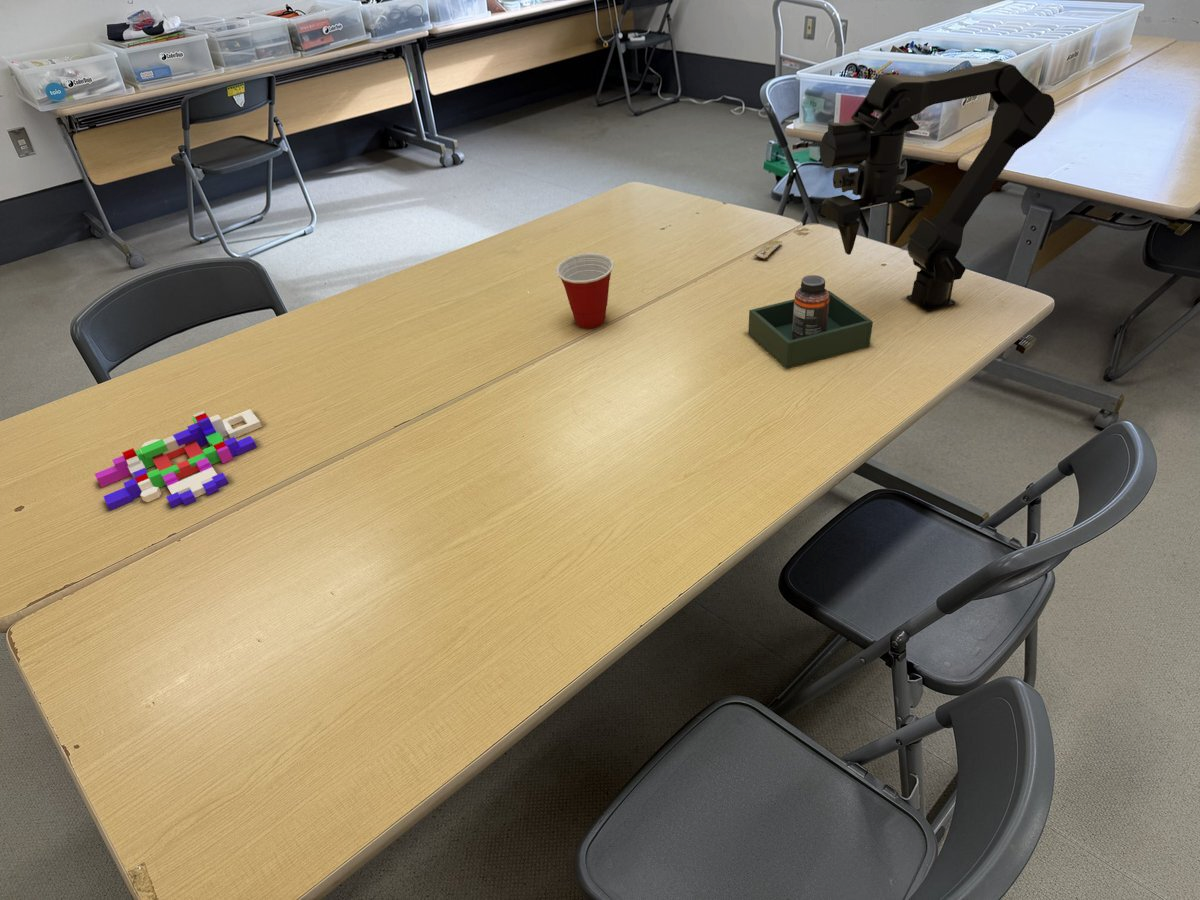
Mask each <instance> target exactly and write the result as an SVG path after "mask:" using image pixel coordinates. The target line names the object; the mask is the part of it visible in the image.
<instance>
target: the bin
mask: <svg viewBox="0 0 1200 900" xmlns="http://www.w3.org/2000/svg"><path fill="white" fill-rule="evenodd" d="M827 291H828V292H829V295H830V299H829V310H828V320H827V330H826V331H825V332H821V333H817V334H813V335H809V336H806V337H802V338H798V339H793V337H792V328H793V313H794V300H795V298H793V299H789V300H786V301H785V300H784V301H781V302H780V301H779V302H776V303H773V304H769V305H765V306H761V307H760V306H759V307H756V308H752V309H749V310H748V329H747V330H748V332H747V335H748V336H749V337H750V338H752V340H754V341H755V343H757V344H758V345H759V346H760V347H761V348H763V349H764V350H765V351H766V352H767V353H768V354H769V355H770V356H772V357H773V358H774V360H776V361H777V362H778V363H779V364H780V365H781V366H783V367H784V368H785V369H790V368H791V369H792V368H794V367H798V366H802V365H806V364H811V363H814V362H818V361H821V360H825V359H829V358H832V357H836V356H840V355H844V354H847V353H851V352H856V351H859V350H862V349H865V348H870V346H871V345H870V344H871V339H872V333H873V332H872V331H873V325H874V320H872V319H870V318H869V317H867V315H865V314H863V313H862V312H860V311H859V310H857V308H855V307H854V306H852V305H850V304H849V303H848V302H846V301H845V300H843V299H842V298H840V297H839V296H838V295H836V294H835V293H833V292H832V291H830V290H827Z"/></svg>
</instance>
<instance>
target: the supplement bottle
mask: <svg viewBox="0 0 1200 900" xmlns="http://www.w3.org/2000/svg"><path fill="white" fill-rule="evenodd" d="M828 291H829V290H828V289H827V288H826V279H825V278H824V277H823V276H821V275H818V274H817V275H816V274H810V275H806V276H804V277H802V278H801V282H800V287H799V288H798V289H797V290H796V291H795V293H794V299H795V300H794V313H793V328H792V337H793V339H798V338H802V337H806V336H809V335H813V334H817V333H821V332H825V331H826V330H827V320H828V310H829V299H830V295H829V292H828Z"/></svg>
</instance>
